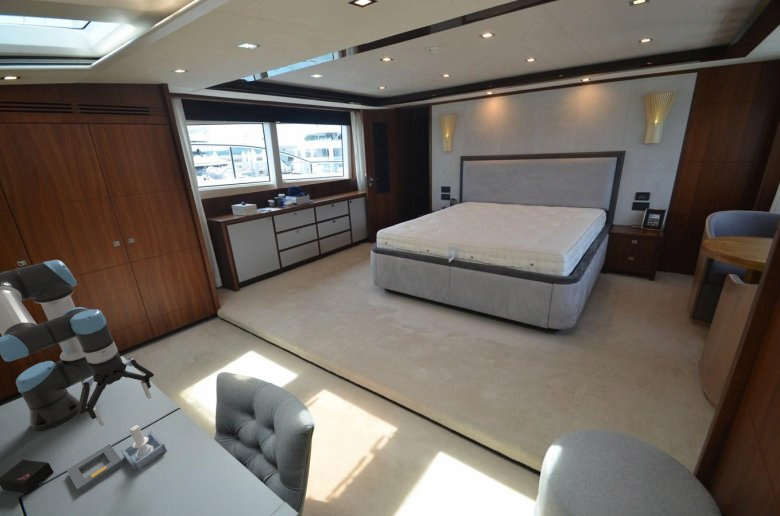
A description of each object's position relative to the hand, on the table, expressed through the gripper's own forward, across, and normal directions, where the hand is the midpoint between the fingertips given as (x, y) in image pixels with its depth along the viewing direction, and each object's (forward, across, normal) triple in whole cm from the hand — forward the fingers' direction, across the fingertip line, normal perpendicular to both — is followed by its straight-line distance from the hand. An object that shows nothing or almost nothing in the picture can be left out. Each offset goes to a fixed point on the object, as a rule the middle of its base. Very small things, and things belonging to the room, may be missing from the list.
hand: (126, 409), depth 113 cm
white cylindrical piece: (+20, 0, -1) cm, 20 cm away
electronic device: (+21, -26, +22) cm, 40 cm away
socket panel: (+20, -12, +7) cm, 24 cm away
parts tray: (+20, 0, -1) cm, 20 cm away
